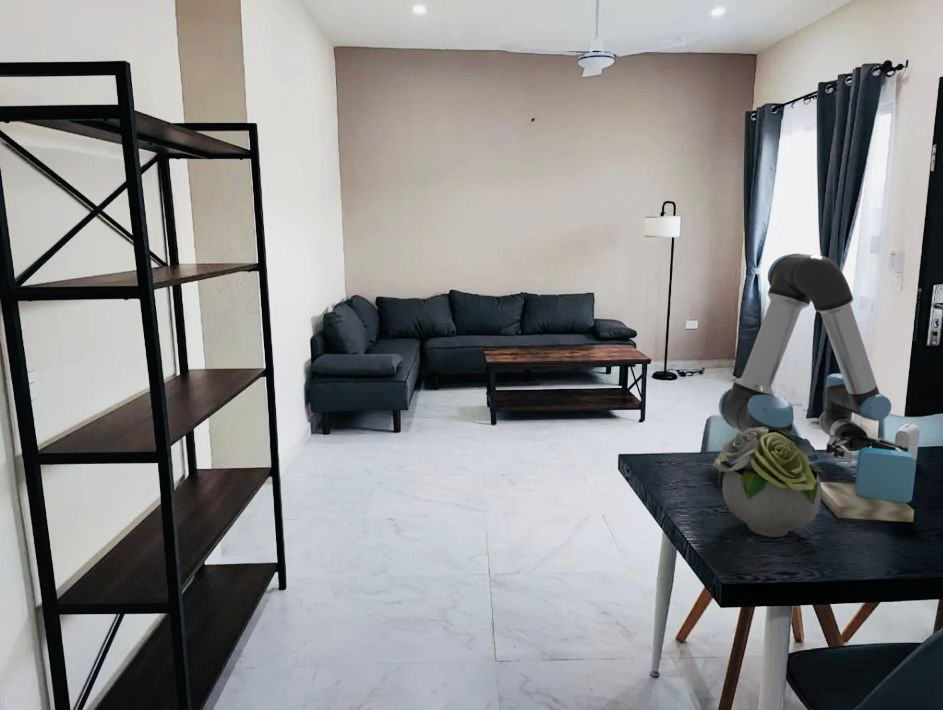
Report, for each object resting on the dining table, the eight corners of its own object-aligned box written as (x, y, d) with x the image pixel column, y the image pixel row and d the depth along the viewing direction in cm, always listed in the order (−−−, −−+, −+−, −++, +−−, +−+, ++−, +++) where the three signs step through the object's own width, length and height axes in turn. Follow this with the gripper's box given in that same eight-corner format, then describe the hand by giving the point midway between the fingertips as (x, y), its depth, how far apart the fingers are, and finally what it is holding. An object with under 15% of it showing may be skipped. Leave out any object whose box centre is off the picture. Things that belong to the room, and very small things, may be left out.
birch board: (837, 517, 167) (839, 506, 166) (815, 492, 183) (816, 481, 182) (912, 522, 164) (914, 510, 164) (883, 495, 180) (884, 485, 180)
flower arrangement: (695, 510, 172) (701, 417, 167) (791, 507, 173) (799, 415, 169) (739, 556, 147) (747, 449, 143) (850, 553, 149) (862, 446, 144)
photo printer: (906, 470, 200) (911, 429, 197) (889, 466, 203) (894, 426, 201) (918, 462, 206) (922, 423, 204) (902, 458, 209) (906, 420, 207)
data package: (908, 497, 172) (914, 452, 169) (911, 504, 167) (917, 457, 165) (854, 490, 176) (859, 446, 174) (856, 496, 172) (860, 451, 170)
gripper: (894, 449, 195) (929, 476, 174) (801, 445, 199) (825, 470, 179) (897, 424, 193) (933, 448, 173) (803, 420, 198) (828, 443, 177)
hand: (878, 459), depth 176 cm, fingers open, 13 cm apart
